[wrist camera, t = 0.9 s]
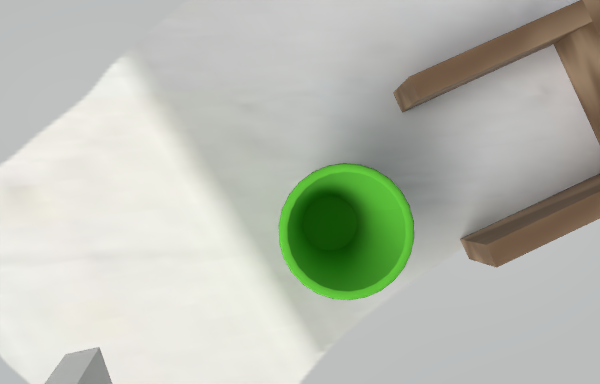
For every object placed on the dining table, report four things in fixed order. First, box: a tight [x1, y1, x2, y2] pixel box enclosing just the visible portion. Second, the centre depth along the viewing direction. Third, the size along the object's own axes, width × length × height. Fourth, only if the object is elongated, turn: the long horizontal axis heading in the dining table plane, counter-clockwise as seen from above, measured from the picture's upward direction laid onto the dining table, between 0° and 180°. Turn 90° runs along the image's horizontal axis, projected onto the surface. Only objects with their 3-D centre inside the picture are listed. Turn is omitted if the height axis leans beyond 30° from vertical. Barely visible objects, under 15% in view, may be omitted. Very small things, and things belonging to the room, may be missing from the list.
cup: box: [279, 163, 414, 300], centre depth 33 cm, size 9×9×11 cm
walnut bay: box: [394, 0, 600, 267], centre depth 37 cm, size 17×18×5 cm
